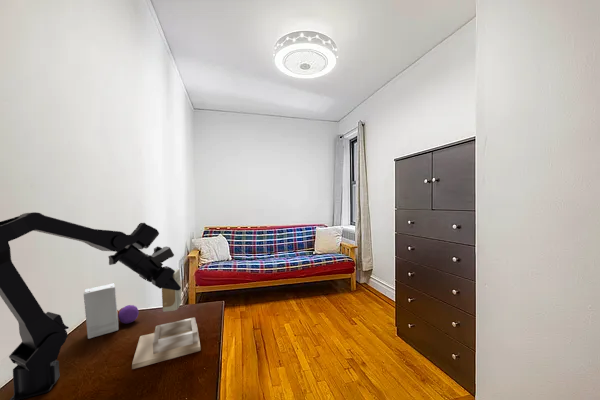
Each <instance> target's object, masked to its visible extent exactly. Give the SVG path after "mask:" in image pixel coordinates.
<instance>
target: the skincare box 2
mask: <svg viewBox="0 0 600 400" xmlns="http://www.w3.org/2000/svg"><path fill="white" fill-rule="evenodd" d="M173 270H174V271H175V272H174V274H173V278H174V279H175V281H176V282H177V283H178V284H179V286H180V287H181V288H182V286H181V272H180V271H181V270H180V268H177V269H173ZM181 290H182V289H180V290H179V291H178V290H171V289H163V288H161V298H162V299H161V301H162V302H161V303H162V312H164V313H165V312H172V311H177V310H178V309H179V308H180V306H181V304H182V291H181Z"/></svg>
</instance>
